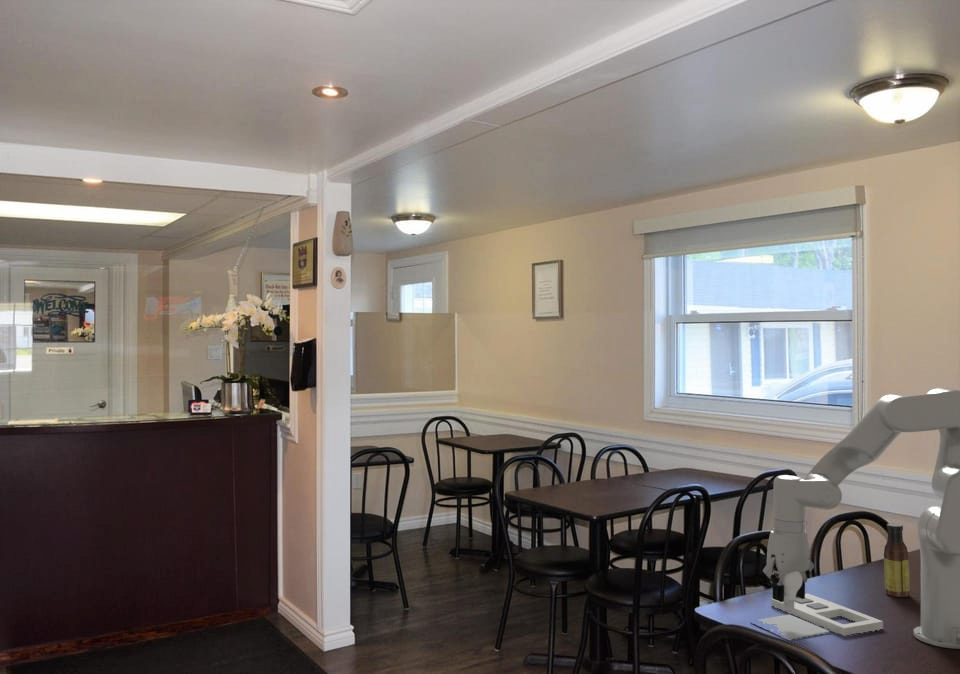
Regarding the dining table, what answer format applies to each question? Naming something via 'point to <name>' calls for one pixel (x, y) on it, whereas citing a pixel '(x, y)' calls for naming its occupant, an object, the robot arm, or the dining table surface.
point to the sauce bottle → (896, 563)
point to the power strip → (831, 615)
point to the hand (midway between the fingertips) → (788, 598)
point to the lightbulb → (791, 588)
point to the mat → (794, 626)
